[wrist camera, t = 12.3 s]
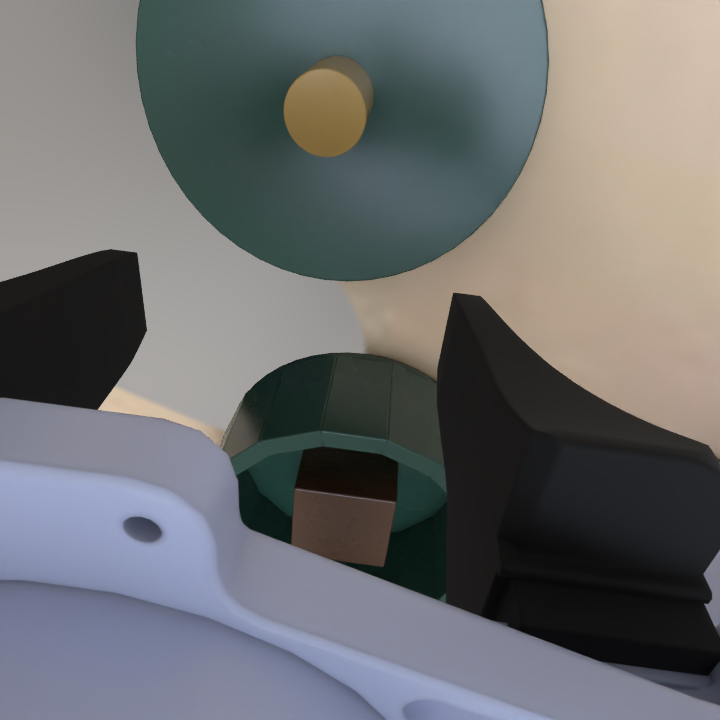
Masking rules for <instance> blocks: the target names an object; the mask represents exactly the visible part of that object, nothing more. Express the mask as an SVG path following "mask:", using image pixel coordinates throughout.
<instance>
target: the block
mask: <svg viewBox="0 0 720 720" xmlns="http://www.w3.org/2000/svg"><path fill="white" fill-rule="evenodd" d="M398 467H399V462H397V461H395V460H393V459H391V458H388V457H386V456H384V455H382V454H376V453H369V452H361V451H354V450H347V449H339V448H332V447H324V446H322V447H316V448H310V449H305V450H303V453H302V457H301V461H300V465H299V469H298V473H297V478H296V482H295V486H294V495H293V514H292V533H291V545H293V546H296V547H298V548H301V549H304V550H306V551H309V552H312V553H314V554H317V555H319V556H322V557H325V558H327V559H330V560H336V561H343V562H350V563H357V564H365V565H372V566H379V567H384V565H385V561H386V555H387V550H388V545H389V540H390V535H391V530H392V525H393V520H394V515H395V510H396V505H397V490H398Z"/></svg>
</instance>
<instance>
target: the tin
mask: <svg viewBox="0 0 720 720" xmlns="http://www.w3.org/2000/svg"><path fill="white" fill-rule="evenodd" d="M322 446H324V447H332V448H339V449H347V450H354V451H361V452H369V453H376V454H382V455H384V456H386V457H388V458H391V459H393V460H395V461H397V462H399V467H398V490H397V505H396V510H395V515H394V520H393V525H392V530H391V535H390V540H389V545H388V550H387V555H386V561H385V565H384V567H379V566H372V565H365V564H357V563H350V562H343V561H336V560H333V561H335V562H338V563H341V564H343V565H346V566H349V567H351V568H354V569H356V570H359V571H362V572H364V573H367V574H370V575H372V576H375V577H378V578H380V579H383V580H386V581H388V582H391V583H394V584H396V585H399V586H401V587H404V588H407V589H409V590H412V591H415V592H417V593H420V594H423V595H425V596H428V597H431V598H433V599H436V600H439V601H441V602H444V603H446V572H447V490H446V477H445V469H444V460H443V452H442V444H441V436H440V427H439V419H438V410H437V382H436V381H435V380H433V379H432V378H430V377H429V376H427V375H425V374H424V373H422V372H420V371H418V370H417V369H414V368H412V367H410V366H407V365H405V364H403V363H400V362H397V361H394V360H391V359H387V358H384V357H379V356H374V355H368V354H359V353H328V354H321V355H314V356H310V357H306V358H303V359H299V360H295V361H293V362H291V363H288V364H286V365H283V366H281V367H279V368H277V369H276V370H274V371H272V372H271V373H269V374H267V375H266V376H265V377H263V378H262V379H261V380H260V381H258V382H257V383H256V384H255V385H254V386H253V387H252V388H251V389H250V390H249V391H248V392H247V393H246V394H245V396H244V398H243V400H242V401H241V403H240V404H239V406H238V408H237V411H236V412H235V414H234V417H233V418H232V420H231V422H230V424H229V425H228V428H227V430H226V432H225V435H224V437H223V439H222V442H221V444H220V446H219V447H220V448H221V449H222V450H223V451H225V452H226V453H227V454H228V456H229V458H230V461H231V464H232V466H233V469H234V472H235V474H236V477H237V479H238V492H239V511H240V516H241V520H242V522H243V524H244V525H246V526H247V527H248V528H249V529H251V530H253V531H256V532H259V533H261V534H264V535H267V536H269V537H272V538H274V539H277V540H280V541H282V542H285V543H288V544H290V545H291V533H292V514H293V495H294V486H295V482H296V478H297V473H298V469H299V465H300V461H301V457H302V453H303V450H305V449H310V448H316V447H322Z"/></svg>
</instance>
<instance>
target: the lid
mask: <svg viewBox="0 0 720 720" xmlns="http://www.w3.org/2000/svg"><path fill="white" fill-rule="evenodd" d="M136 55H137V73H138V79H139V85H140V91H141V98H142V102H143V106H144V109H145V113H146V116H147V120H148V124H149V127H150V130H151V132H152V135H153V137H154V140H155V142H156V144H157V147H158V150H159V152H160V154H161V156H162V158H163V160H164V161H165V163H166V165H167V167H168V169H169V171H170V173H171V175H172V176H173V178H174V179H175V181H176V182H177V184H178V185H179V187H180V188H181V190H182V191H183V193H184V194H185V196H186V197H187V198H188V199H189V201H190V202H191V203H192V204H193V205H194V206H195V208H196V209H197V210H198V211H199V212H200V213H201V215H202V216H203V217H204V218H205V219H206V220H207V221H208V222H210V223H211V224H212V225H213V226H214V227H215V228H216V229H217V230H218V231H219V232H220V233H221V234H223V235H224V236H226V237H227V238H228V239H229V240H231V241H232V242H233V243H235V244H236V245H237V246H239V247H240V248H242V249H243V250H245V251H247V252H248V253H250V254H252V255H253V256H255V257H257V258H259V259H260V260H263V261H265V262H267V263H269V264H271V265H274V266H276V267H278V268H280V269H283V270H287V271H290V272H293V273H296V274H299V275H303V276H308V277H313V278H318V279H324V280H336V281H360V280H372V279H378V278H384V277H389V276H393V275H397V274H400V273H403V272H407V271H410V270H413V269H415V268H418V267H420V266H422V265H424V264H427V263H429V262H431V261H433V260H435V259H437V258H439V257H440V256H442V255H444V254H445V253H447V252H449V251H450V250H452V249H454V248H455V247H456V246H458V245H459V244H460V243H461V242H463V241H464V240H465V239H467V238H468V237H469V236H471V235H472V234H473V233H474V232H475V231H476V230H477V229H478V228H479V227H480V226H481V225H482V224H483V223H484V222H485V221H486V220H487V219H488V218H489V217H490V216H491V215H492V214H493V213H494V211H495V210H496V209H497V207H498V206H499V205H500V204H501V202H502V201H503V200H504V199H505V197H506V196H507V195H508V193H509V191H510V190H511V188H512V186H513V185H514V183H515V182H516V180H517V178H518V177H519V175H520V173H521V171H522V169H523V167H524V165H525V163H526V160H527V158H528V156H529V154H530V152H531V150H532V147H533V144H534V141H535V138H536V135H537V132H538V129H539V125H540V122H541V118H542V113H543V108H544V103H545V98H546V93H547V81H548V67H549V53H548V32H547V25H546V19H545V13H544V8H543V2H542V0H140V3H139V8H138V18H137V32H136Z"/></svg>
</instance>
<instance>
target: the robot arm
mask: <svg viewBox="0 0 720 720" xmlns="http://www.w3.org/2000/svg"><path fill="white" fill-rule="evenodd" d="M146 331H147V327H146V320H145V311H144V304H143V295H142V288H141V279H140V272H139V263H138V256H137V253H135V252H127V251H119V250H112V249H110V250H104V251H99V252H95V253H92V254H88V255H84V256H81V257H78V258H75V259H72V260H69V261H66V262H63V263H60V264H57V265H54V266H51V267H48V268H45V269H42V270H39V271H36V272H32V273H29V274H26V275H23V276H19V277H16V278H13V279H9V280H6V281H2V282H0V720H720V462H719V461H718V459H717V458H716V456H715V454H714V453H713V451H712V450H711V448H710V447H709V446H708V445H706V444H703V443H700V442H698V441H695V440H692V439H690V438H687V437H684V436H682V435H679V434H676V433H673V432H671V431H668V430H665V429H663V428H660V427H658V426H655V425H653V424H651V423H648V422H646V421H644V420H642V419H640V418H638V417H635V416H633V415H631V414H629V413H627V412H625V411H623V410H621V409H619V408H617V407H615V406H613V405H611V404H609V403H607V402H606V401H604V400H602V399H601V398H599V397H597V396H595V395H594V394H592V393H590V392H588V391H587V390H585V389H584V388H582V387H580V386H579V385H577V384H576V383H574V382H573V381H571V380H570V379H569V378H567V377H566V376H564V375H563V374H562V373H560V372H559V371H558V370H556V369H555V368H553V367H552V366H551V365H550V364H548V363H547V362H546V361H545V360H543V359H542V358H541V357H540V356H539V355H538V354H537V353H536V352H534V351H533V350H532V349H531V348H530V347H529V346H528V345H527V344H526V343H525V342H524V341H523V340H522V339H520V338H519V337H518V336H517V335H516V334H515V332H514V331H513V330H512V329H511V328H510V327H509V326H508V325H507V324H506V323H505V322H504V321H503V320H502V319H501V318H500V316H499V315H498V314H497V313H496V312H495V311H494V310H493V309H492V308H491V307H490V305H489V304H488V303H487V302H486V301H485V300H484V299H483V298H482V297H481V296H475V295H467V294H459V293H453V297H452V301H451V306H450V311H449V316H448V320H447V325H446V330H445V335H444V340H443V344H442V349H441V354H440V359H439V363H438V370H437V410H438V419H439V427H440V436H441V444H442V452H443V460H444V469H445V477H446V490H447V572H446V603H444V602H441V601H439V600H436V599H433V598H431V597H428V596H425V595H423V594H420V593H417V592H415V591H412V590H409V589H407V588H404V587H401V586H399V585H396V584H394V583H391V582H388V581H386V580H383V579H380V578H378V577H375V576H372V575H370V574H367V573H364V572H362V571H359V570H356V569H354V568H351V567H349V566H346V565H343V564H341V563H338V562H335V561H333V560H330V559H327V558H325V557H322V556H319V555H317V554H314V553H312V552H309V551H306V550H304V549H301V548H298V547H296V546H293V545H290V544H288V543H285V542H282V541H280V540H277V539H274V538H272V537H269V536H267V535H264V534H261V533H259V532H256V531H253V530H251V529H249V528H248V527H247V526H246V525H244V524H243V522H242V520H241V516H240V511H239V492H238V479H237V477H236V474H235V472H234V469H233V466H232V464H231V461H230V458H229V456H228V454H227V453H226V452H225V451H223V450H222V449H221V448H220V447H219V446H217V445H216V444H215V443H214V442H213V441H212V440H210V439H209V438H208V437H207V436H206V435H205V434H203V433H202V432H201V431H199V430H196V429H193V428H190V427H187V426H184V425H181V424H178V423H175V422H172V421H169V420H166V419H162V418H154V417H146V416H139V415H131V414H124V413H116V412H108V411H101V410H98V408H99V407H100V406H101V404H102V403H103V401H104V400H105V399H106V397H107V396H108V395H109V393H110V392H111V390H112V389H113V388H114V386H115V385H116V384H117V382H118V381H119V379H120V378H121V376H122V375H123V373H124V372H125V371H126V369H127V368H128V366H129V365H130V363H131V362H132V360H133V358H134V356H135V354H136V352H137V350H138V348H139V346H140V344H141V342H142V339H143V338H144V335H145V333H146Z"/></svg>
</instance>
